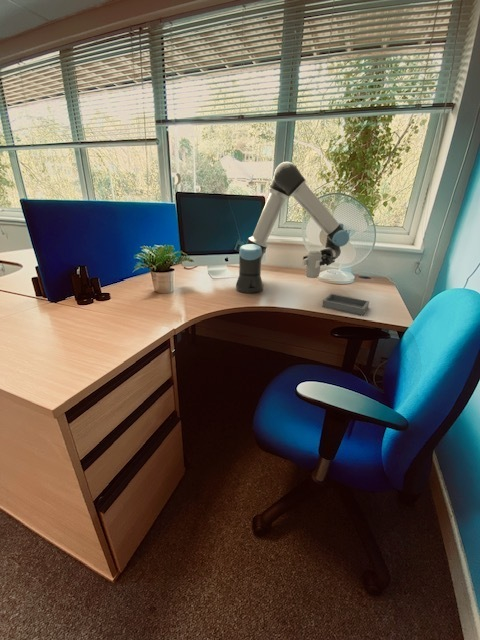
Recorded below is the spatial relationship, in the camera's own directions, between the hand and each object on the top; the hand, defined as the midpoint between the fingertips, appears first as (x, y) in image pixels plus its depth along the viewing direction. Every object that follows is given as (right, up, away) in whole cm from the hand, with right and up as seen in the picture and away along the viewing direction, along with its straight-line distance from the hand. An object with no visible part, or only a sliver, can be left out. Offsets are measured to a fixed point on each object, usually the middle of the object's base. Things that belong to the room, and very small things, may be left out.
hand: (309, 263), depth 121 cm
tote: (+17, -20, +3) cm, 26 cm away
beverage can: (+3, -5, +7) cm, 9 cm away
